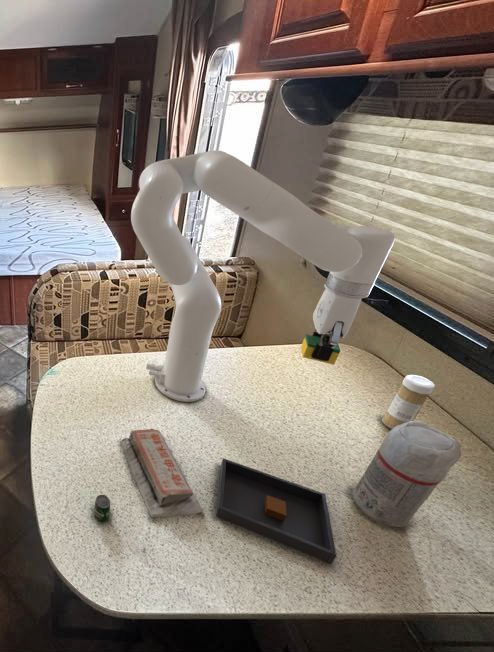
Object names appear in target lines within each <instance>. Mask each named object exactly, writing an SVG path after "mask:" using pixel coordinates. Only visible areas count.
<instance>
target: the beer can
mask: <svg viewBox="0 0 494 652" xmlns="http://www.w3.org/2000/svg"><path fill="white" fill-rule="evenodd" d="M110 513H111V499H110V498H109V497H108V496H107V495H105V494H99V495H97V496H96V497H95V501H94V510H93V515H94V518H95V519H96V520H97V521H98V522H100V523H106V522H107V521H109V518H110Z"/></svg>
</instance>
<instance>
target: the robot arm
mask: <svg viewBox="0 0 494 652" xmlns="http://www.w3.org/2000/svg"><path fill="white" fill-rule="evenodd" d="M138 187H139V190H138V192H137V195H136V196H135V199H134V201H133V203H132V207H131V211H130V212H131V213H130V221H131V227H132V230H133V231H134V233H135V235H136V237H137V239H138V241H139V242H140V244H141V247H142V248H143V250H144V251H145V253H146V255H147V257H148V259H149V260H150V262H151V263H152V265H153V267H154V269H155V271H156V273H157V274H158V276H159V277H160V278H161V279H162V280H163V281H164V282H166V283H168V285H169V287H170V289H171V291H172V295H173V298H174V302H175V310H174V315H173V318H172V321H171V325H170V329H169V334H168V340H167V347H166V352H165V358H164V362H163V364H155V363H151V362H147V363H146V367H145V369H146V370H149V371H148V375H149V376H153V377H155V379H154V384H155V387H157V390H159V391H160V392H161V393H162V394H163V395H164V396H166V397H168V398H170V399H172V400H175V401H178V402H184V403H189V402H197V401H199V400H201V399H202V398H203V397H204V396H205V392H206V385H205V383H204V381H203V380H202V378H203V374H204V370H205V365H206V361H207V357H208V353H209V349H210V344H211V341H212V336H213V333H214V329H215V327H216V324H217V322H218V319H219V317H220V315H221V311H222V300H221V296H220V293H219V291H218V289H217V287H216V285H215V284H214V282H213V280H212V279H211V276H210V275H209V273H208V271H207V270H206V268H205V266H204V264H203V262H202V260H201V259H200V257H199V256H198V253H197V252H196V250H195V248H194V246H193V245H192V243H191V241H190V240H189V239H188V237H186V236H184V235H183V234H182V232H181V231H180V228H179V226H178V225H177V223H176V221H175V219H174V216H173V212H174V209H175V207H176V205H177V204H178V202H179V200H180V199H181V196H182V194H189V193H194V192H199V191H201V192H202V193H203V194H204V195H206V196H208V197H209V198H210V199H212V200H213V201H215V202H216V203H218V204H219V205H221V206H222V207H225V208H226V209H227V210H229V211H231V212H232V213H233V214H235V215H236V216H238V217H240V218H241V219H243V220H244V221H245V222H247V223H249V224H250V225H252V226H253V227H255V228H256V229H258V230H259V231H260V232H262V233H264V234H265V235H267V236H269V237H271V238H272V239H274V240H276V241H278V242H279V243H280V244H282V245H283V246H285V247H286V248H288V249H290V250H291V251H292V252H294V253H295V254H297V255H298V256H300V257H302V258H303V259H305V260H306V261H308V262H309V263H311V264H313V265H314V266H315V267H317V268H319V269H320V270H323V271H325V272H329V273H328V275H327V278H326V280H325V283H324V285H323V286H324V287H323V288H325V289H324V290H323V292H322V295H321V297H320V298H319V301H318V303H317V305H316V307H315V309H314V310H313V313H312V321H313V324H314V328H315V329H314V331H313V332H312V334H311V335H312V336H317V337H321V338H320V341H319V343H317V344H316V346H315V348H314V350H313V353H312V355H311V357H312V358H314V359H318V360H322V361H329V359H330V357H331V354H332V352H333V350H334V348H335V346H336V345H339V342H340V339H344V338H346V336H347V335H348V333H349V331H350V330H351V327H352V325H353V322H354V320H355V318H356V315H357V312H358V310H359V307H360V305H361V301H362V299H366V298H368V297H369V295H370V293H371V291H372V289H373V287H374V285H375V283H376V281H377V278H378V276H379V274H380V273H381V270H382V269H383V266H384V264H385V262H386V260H387V258H388V256H389V254H390V252H391V249H392V248H393V246H394V243H395V242H396V241H395V240H396V235H395V234H394V232H392V231H391V230H389V229H386V228H382V227H377V226H371V225H356V226H350V225H346V224H345V225H343V224H337V223H333V222H331V221H329V219H327V218H325V217H323V216H322V215H320V214H319V213H317V212H316V211H315V210H314V209H312V208H311V207H309V206H308V205H306V204H305V203H304V202H303V201H301V200H300V199H299V198H298V197H296V196H295V195H294V194H292V193H291V192H289V191H287V190H286V189H285V188H283V187H282V186H281V185H279V184H277V183H276V182H274V181H273V180H271V179H270V178H268V177H267V176H265V175H263V174H262V173H260V172H259V171H257V170H256V169H254V168H253V167H251V166H250V165H248V164H247V163H245V162H243V161H242V160H240V159H239V158H237V157H236V156H234V155H232V154H230V153H227V152H225V151H224V150H223V151H222V150H207V151H204V152H203V151H202V152H198V153H194V154H188V155H183V156H178V157H173V158H168V159H163V160H158V161H155V162H153V163H150V164H149V165H147V166H146V167H145V169H143V171H142V172H141V173H140V175H139V180H138ZM325 338H327V339H326V340H325Z"/></svg>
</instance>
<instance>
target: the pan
mask: <svg viewBox="0 0 494 652" xmlns="http://www.w3.org/2000/svg"><path fill="white" fill-rule="evenodd" d="M267 495H268V496H271V497H274V498H276V499H279V500H282V501H284V502H286V513H287V516H286V518H285V520H284V521H281V520H279V519H276V518H274V517H271V516H268V515H266V514H265V499H266V496H267ZM216 500H217V501H216V512H215V516H216V518H219V519H221V520H223V521H226V522H229V523H231V524H232V525H235V526H238V527H239V528H243V529H245V530H248V531H250V532H252V533H255V534H257V535H260V536H262V537H264V538H267V539H269V540H272V541H273V542H276V543H279V544H281V545H284V546H286V547H288V548H291V549H293V550H296V551H298V552H300V553H303V554H305V555H306V556H310V557H312V558H315V559H317V560H319V561H321V562H324V563H327V564H329V565H332V564H333V562H334V560H335V559H336V557H337V552H336V547H335V546H336V545H335V541H334V535H333V530H332V524H331V518H330V513H329V512H330V511H329V506H328V501H327V496H326V493H323V492H321V491H318V490H315V489H312V488H309V487H308V486H307V487H306V486H304V485H301V484H298V483H295V482H293V481H290V480H287V479H284V478H281V477H278V476H275V475H273V474H270V473H266V472H263V471H261V470H259V469H255V468H253V467H250V466H246V465H244V464H241V463H239V462H235V461H233V460H229V459H227V458H224V457H223V458H222V460H221V462H220V466H219V477H218V489H217V499H216Z"/></svg>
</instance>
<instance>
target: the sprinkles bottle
mask: <svg viewBox="0 0 494 652" xmlns="http://www.w3.org/2000/svg"><path fill="white" fill-rule="evenodd" d="M435 387H436V385H435V384H434V382H433V381H431V380H430V379H428V378H426V377H424V376H421V375H418V374H417V375H416V374H407V375H406V376H405V377H404V379H403V380H402V384H401V386H400V388H399V390H398V392H397V393H396V395H395V397H394V398H393V399H392V402H391V404H390V406H389V407H388V409H387V412H386V413H385V415H384V417H382V419H381V420H382V424H384V425H385V426H386V427H388V428H389V429H391V430H392V429H393V428H394V427H396V426H398V425H401V424H403V423H407V422H409V421H415V419H416V418H417V416H418V415H419V413H420V411H421V408H422V407H423V405H424V404H425V402H426V401H427V399H428V397H429V396H430V395H431V394H432V393H433V392H434V390H435Z"/></svg>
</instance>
